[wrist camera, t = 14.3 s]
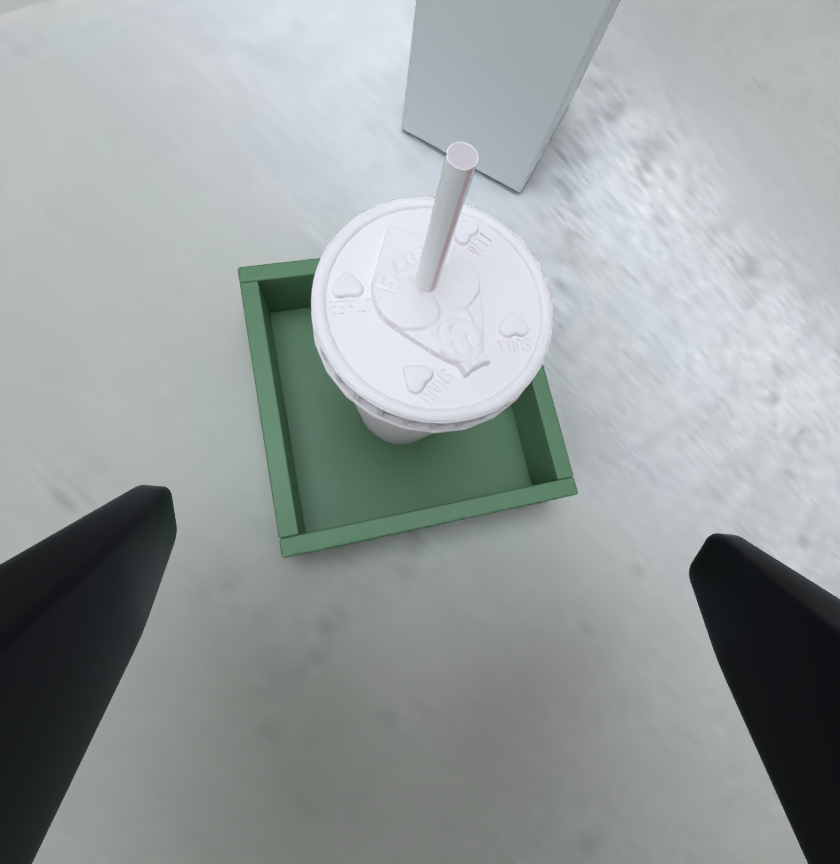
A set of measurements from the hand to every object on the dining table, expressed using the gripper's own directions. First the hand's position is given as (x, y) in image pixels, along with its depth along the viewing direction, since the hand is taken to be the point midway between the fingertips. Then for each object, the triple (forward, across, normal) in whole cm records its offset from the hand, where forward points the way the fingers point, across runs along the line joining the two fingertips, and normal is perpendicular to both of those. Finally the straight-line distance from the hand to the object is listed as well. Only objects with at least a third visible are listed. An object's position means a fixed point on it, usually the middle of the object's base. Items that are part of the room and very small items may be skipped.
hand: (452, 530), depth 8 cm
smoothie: (+13, 0, +5) cm, 14 cm away
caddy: (+14, 0, +5) cm, 15 cm away
